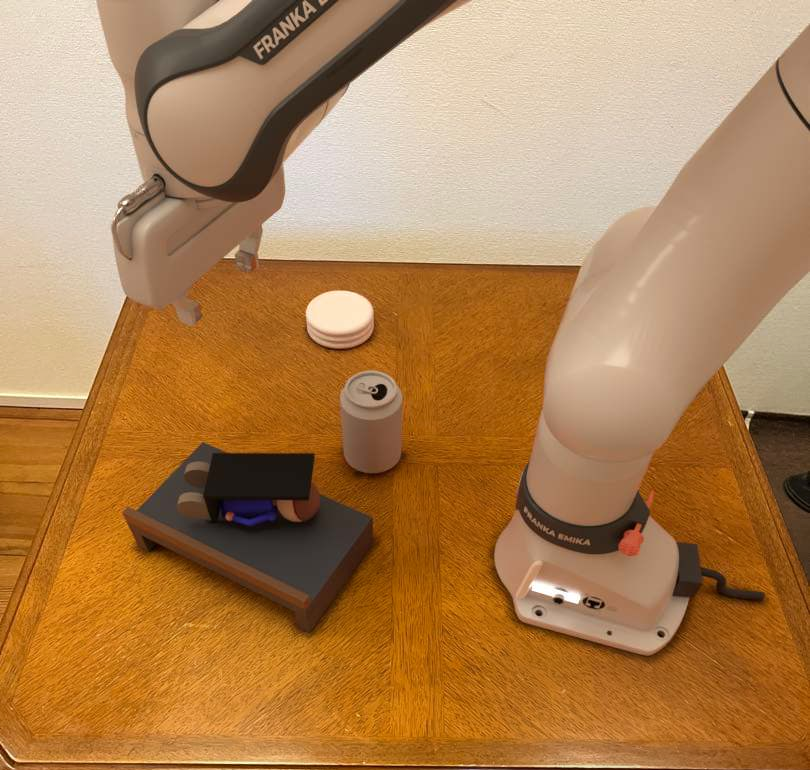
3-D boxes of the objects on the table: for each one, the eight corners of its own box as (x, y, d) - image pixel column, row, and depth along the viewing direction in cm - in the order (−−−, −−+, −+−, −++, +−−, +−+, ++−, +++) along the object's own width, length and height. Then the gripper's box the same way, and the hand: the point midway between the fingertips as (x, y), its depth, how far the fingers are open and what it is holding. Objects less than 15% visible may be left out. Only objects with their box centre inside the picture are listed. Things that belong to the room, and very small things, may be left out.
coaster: (297, 342, 109) (294, 323, 106) (321, 302, 115) (319, 283, 112) (361, 356, 107) (360, 337, 104) (382, 315, 113) (382, 296, 110)
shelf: (373, 542, 88) (372, 508, 83) (310, 633, 81) (304, 602, 75) (210, 468, 94) (199, 432, 89) (138, 546, 87) (121, 512, 82)
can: (394, 482, 93) (395, 413, 84) (337, 472, 94) (331, 403, 84) (406, 440, 98) (408, 370, 88) (351, 431, 99) (347, 361, 89)
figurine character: (190, 542, 83) (321, 536, 82) (166, 500, 77) (307, 492, 76) (200, 496, 87) (326, 489, 86) (178, 452, 81) (313, 444, 80)
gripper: (139, 222, 55) (180, 366, 66) (290, 111, 65) (303, 251, 77) (74, 199, 56) (125, 344, 67) (231, 94, 67) (252, 233, 78)
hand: (220, 293), depth 72 cm, fingers open, 8 cm apart
